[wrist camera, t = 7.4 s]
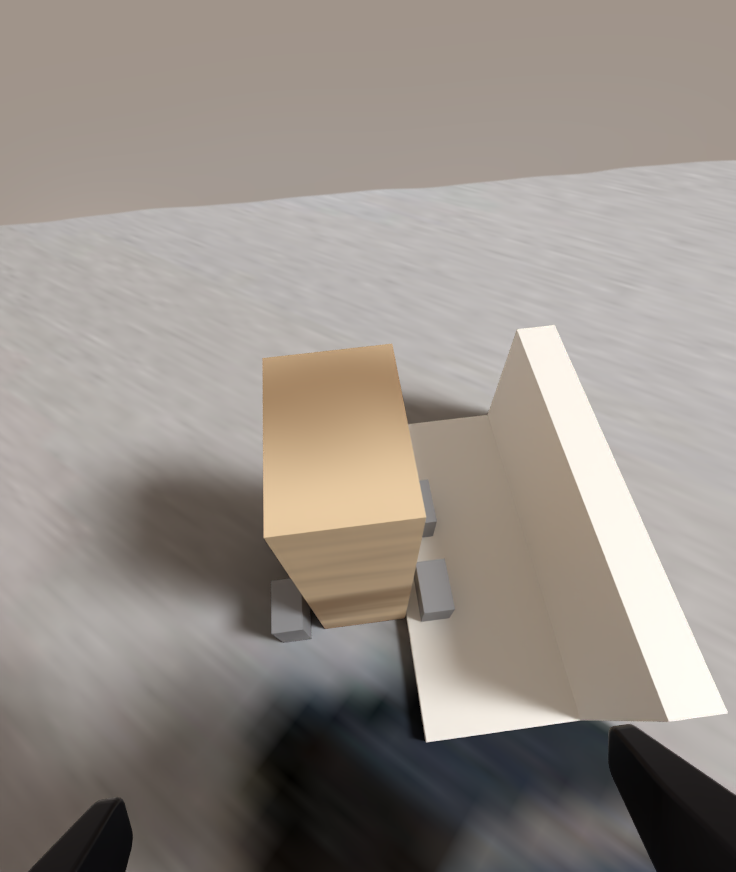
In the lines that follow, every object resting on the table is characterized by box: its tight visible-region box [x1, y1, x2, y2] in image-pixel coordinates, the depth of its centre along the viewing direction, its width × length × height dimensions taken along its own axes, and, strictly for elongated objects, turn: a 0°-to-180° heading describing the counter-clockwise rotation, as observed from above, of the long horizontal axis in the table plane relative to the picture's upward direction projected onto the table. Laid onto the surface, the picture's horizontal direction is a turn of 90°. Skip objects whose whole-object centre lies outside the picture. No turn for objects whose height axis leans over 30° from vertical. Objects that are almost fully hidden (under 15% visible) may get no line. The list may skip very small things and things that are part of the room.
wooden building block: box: [263, 344, 426, 629], centre depth 16 cm, size 5×4×12 cm
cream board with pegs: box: [271, 325, 728, 742], centre depth 19 cm, size 14×15×7 cm
